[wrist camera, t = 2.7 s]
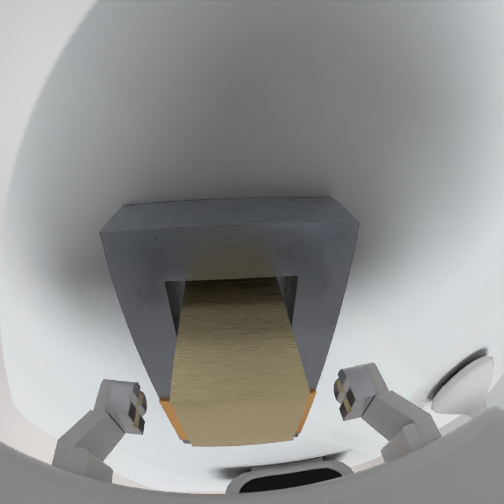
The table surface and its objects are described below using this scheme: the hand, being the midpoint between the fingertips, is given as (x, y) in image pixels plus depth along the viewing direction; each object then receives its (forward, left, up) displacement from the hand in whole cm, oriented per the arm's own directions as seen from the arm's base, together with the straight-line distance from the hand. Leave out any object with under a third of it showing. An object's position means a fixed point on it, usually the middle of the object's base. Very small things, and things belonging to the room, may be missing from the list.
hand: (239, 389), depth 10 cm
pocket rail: (+4, 0, -6) cm, 7 cm away
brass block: (-1, 0, -5) cm, 5 cm away
